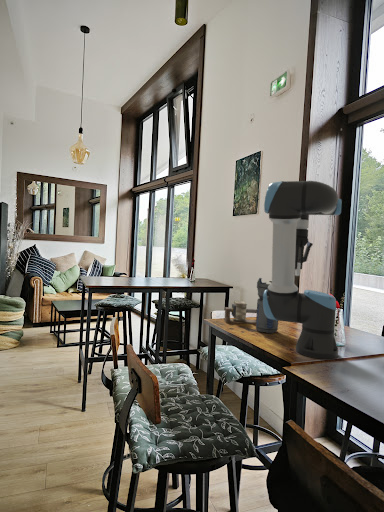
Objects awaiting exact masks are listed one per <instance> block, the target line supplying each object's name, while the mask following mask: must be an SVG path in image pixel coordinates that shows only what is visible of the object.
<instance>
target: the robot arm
mask: <svg viewBox="0 0 384 512" xmlns="http://www.w3.org/2000/svg"><path fill="white" fill-rule="evenodd" d="M266 189H267V190H266V192H265V196H264V204H263V206H264V207H263V208H264V209H263V210H264V212H265V214H268V219H269V220H270V221H271V222H272V246H271V247H272V248H271V249H272V256H271V259H272V260H271V264H272V265H271V267H272V268H271V281H272V283H271V282H270V283H269V284H270V285H269V286H268V289H267V290H265V291H264V294H263V309H264V313H265V315H266V317H267V318H269V319H273V320H276V321H278V322H286V323H287V322H288V323H294V324H296V323H297V324H301V332H300V335H299V336H298V337H299V338H298V339H297V341H296V345H295V352H297V353H298V354H299V355H302V356H306V357H309V358H313V359H318V360H319V359H320V360H333V359H334V360H335V359H337V358H338V357H339V349H338V345H337V341H336V337H335V329H336V326H335V325H336V311H337V299H336V297H335V296H334V295H332V294H329V293H325V292H321V291H318V290H311V289H305V290H304V291H303V293H302V292H301V293H300V292H299V287H298V286H297V285H296V283H295V280H296V279H295V277H300V276H301V270H303V263H305V262H307V260H308V257H309V254H310V250H311V248H312V247H313V244H314V243H312V242H310V241H309V226H310V225H309V224H310V221H309V220H310V216H339V215H341V213H342V202H343V200H342V198H339V196H338V192H337V191H336V190H335V188H333V187H332V186H330V185H328V184H327V183H324V182H320V181H315V180H294V181H290V180H289V181H288V180H287V181H284V180H283V181H282V180H281V181H274V182H271V183H270V184H269V185H268V187H267V188H266ZM305 247H306V248H305Z"/></svg>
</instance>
